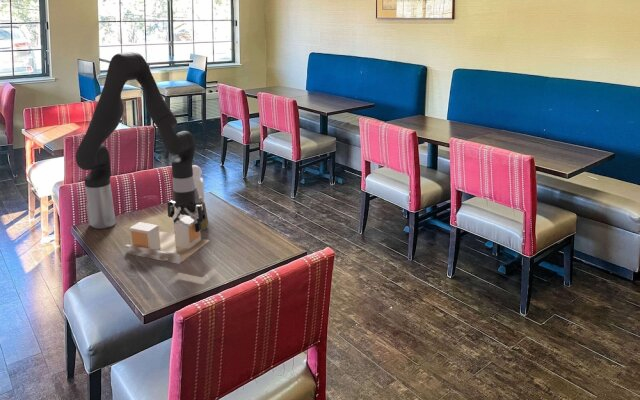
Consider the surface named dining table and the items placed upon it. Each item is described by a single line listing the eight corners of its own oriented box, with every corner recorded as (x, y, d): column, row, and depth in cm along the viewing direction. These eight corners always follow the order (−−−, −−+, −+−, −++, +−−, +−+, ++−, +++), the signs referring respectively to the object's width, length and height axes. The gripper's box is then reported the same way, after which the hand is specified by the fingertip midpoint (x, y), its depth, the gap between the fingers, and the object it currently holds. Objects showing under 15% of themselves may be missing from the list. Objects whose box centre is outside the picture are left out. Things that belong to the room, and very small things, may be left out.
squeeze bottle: (204, 236, 209) (200, 192, 203) (184, 234, 211) (180, 191, 204) (212, 228, 217) (209, 185, 210) (192, 226, 218) (189, 184, 212)
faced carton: (142, 244, 199) (139, 221, 196) (160, 248, 197) (158, 225, 193) (131, 251, 194) (128, 228, 191) (150, 255, 191) (147, 231, 188)
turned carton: (175, 246, 198) (173, 223, 195) (188, 237, 205) (186, 215, 202) (189, 248, 196) (187, 226, 193) (201, 240, 203) (199, 217, 200)
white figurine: (205, 217, 227) (202, 167, 219) (189, 218, 225) (185, 168, 217) (205, 211, 233) (202, 162, 225) (190, 212, 231) (186, 163, 223)
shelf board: (125, 257, 193) (124, 245, 191) (160, 234, 211) (159, 224, 209) (179, 268, 186) (178, 256, 184) (210, 243, 204) (209, 232, 202)
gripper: (160, 188, 192) (165, 230, 198) (195, 193, 187) (199, 236, 193) (173, 182, 198) (177, 223, 204) (207, 186, 194) (210, 228, 200)
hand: (187, 229), depth 199 cm, fingers open, 8 cm apart
